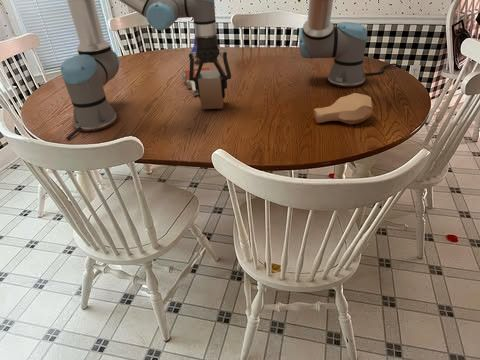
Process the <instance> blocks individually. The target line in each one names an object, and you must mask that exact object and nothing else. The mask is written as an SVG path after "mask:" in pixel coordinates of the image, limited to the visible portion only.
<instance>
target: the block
mask: <svg viewBox="0 0 480 360" xmlns="http://www.w3.org/2000/svg"><path fill="white" fill-rule="evenodd" d="M221 81H222V77H221V75H220V73H219V71H218V70H217V69H210V70H204V71H202V70H201V72H200V75H199V77H198V84H199V93H200V99H199V101H200V108H201V109H200V110H216V109H224V103H225V98H223V95H222V83H221Z"/></svg>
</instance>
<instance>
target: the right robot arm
mask: <svg viewBox="0 0 480 360" xmlns="http://www.w3.org/2000/svg"><path fill="white" fill-rule="evenodd" d="M297 1H298V3H299V2H300V3H301V0H297ZM333 3H334V0H308V11H307V20H306V21H304V23H303V26H302V27H300V28H299V30H298V37H299V38H298V39H299V53H300V56H301V57H302V58H303V59H333V64H332V67H331V69H330V71H329V74H328V76H327V83H329V84H330V85H331V86H334V87H337V88H345V89H352V88H359V87H361V86H363V85H364V84H365V81H366V76H372V75H373V76H375V75H380V74H383V73H384V72H385V71H384V70H385V68H388V67H391V66H395V67H397V68H400V67H401V66H400V65H399V64H398V63H388V64H386V65H383V66H382V67H381V70H380V71H376V72H365V70H364V58H365V52H366V45H367V41H368V29H367V27H366V26H365V25H363V24H361V23H358V22H352V21H340V22H338V23H337V26H334V24H333V22H332V21H331V17H332V12H333Z"/></svg>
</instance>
